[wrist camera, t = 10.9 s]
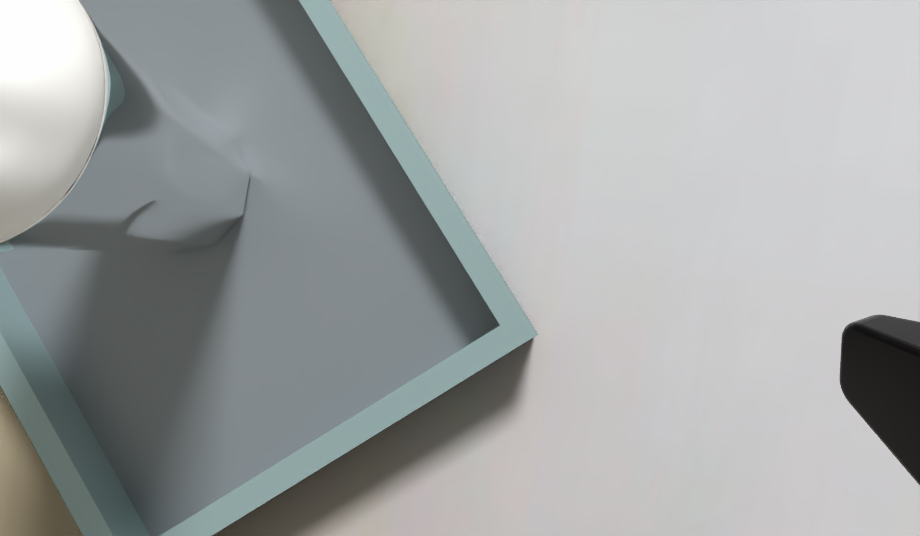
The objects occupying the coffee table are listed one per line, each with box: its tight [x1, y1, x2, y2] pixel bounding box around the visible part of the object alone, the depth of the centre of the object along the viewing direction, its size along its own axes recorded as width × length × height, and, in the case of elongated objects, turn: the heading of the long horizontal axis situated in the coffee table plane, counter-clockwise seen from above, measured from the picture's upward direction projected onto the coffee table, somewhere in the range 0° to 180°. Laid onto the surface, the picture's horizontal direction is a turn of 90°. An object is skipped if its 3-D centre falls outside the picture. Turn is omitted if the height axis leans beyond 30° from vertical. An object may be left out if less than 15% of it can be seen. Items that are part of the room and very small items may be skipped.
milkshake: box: [0, 0, 250, 252], centre depth 14 cm, size 4×5×10 cm
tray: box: [0, 0, 538, 536], centre depth 18 cm, size 16×11×2 cm
